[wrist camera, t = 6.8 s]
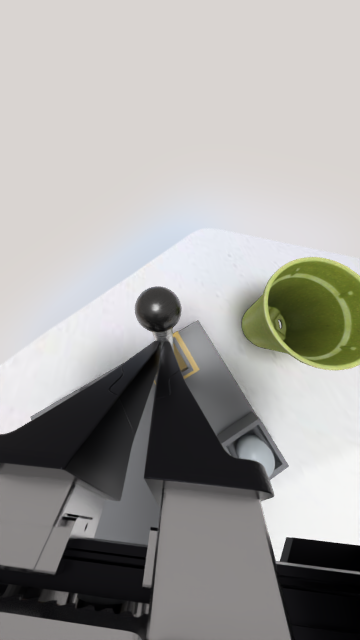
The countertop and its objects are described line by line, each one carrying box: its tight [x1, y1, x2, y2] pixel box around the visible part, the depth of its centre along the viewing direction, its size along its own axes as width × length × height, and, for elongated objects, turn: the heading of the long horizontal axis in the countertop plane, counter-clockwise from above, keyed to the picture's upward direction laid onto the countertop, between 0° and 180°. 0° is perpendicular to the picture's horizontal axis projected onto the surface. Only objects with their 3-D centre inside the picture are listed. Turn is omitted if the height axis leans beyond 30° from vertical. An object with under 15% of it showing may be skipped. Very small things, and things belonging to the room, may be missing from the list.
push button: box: [236, 434, 275, 477], centre depth 13 cm, size 3×3×1 cm
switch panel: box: [31, 321, 289, 545], centre depth 16 cm, size 17×22×4 cm
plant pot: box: [242, 257, 360, 370], centre depth 16 cm, size 9×9×9 cm
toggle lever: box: [135, 287, 181, 351], centre depth 11 cm, size 3×3×11 cm
